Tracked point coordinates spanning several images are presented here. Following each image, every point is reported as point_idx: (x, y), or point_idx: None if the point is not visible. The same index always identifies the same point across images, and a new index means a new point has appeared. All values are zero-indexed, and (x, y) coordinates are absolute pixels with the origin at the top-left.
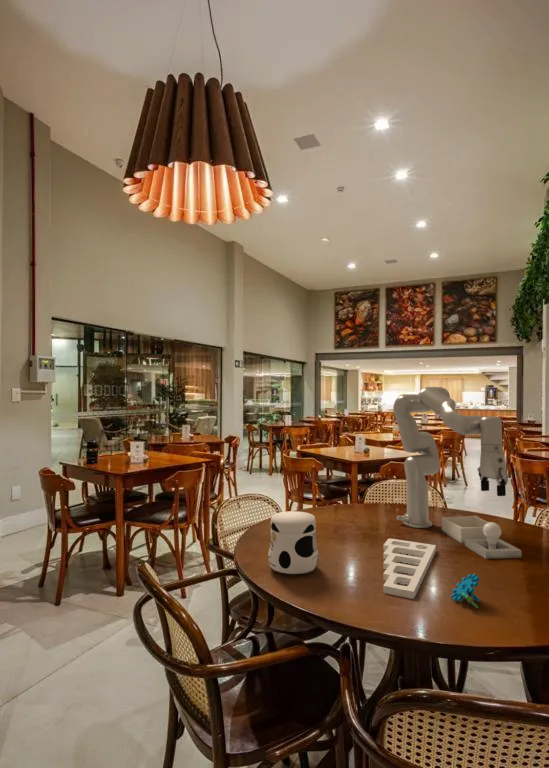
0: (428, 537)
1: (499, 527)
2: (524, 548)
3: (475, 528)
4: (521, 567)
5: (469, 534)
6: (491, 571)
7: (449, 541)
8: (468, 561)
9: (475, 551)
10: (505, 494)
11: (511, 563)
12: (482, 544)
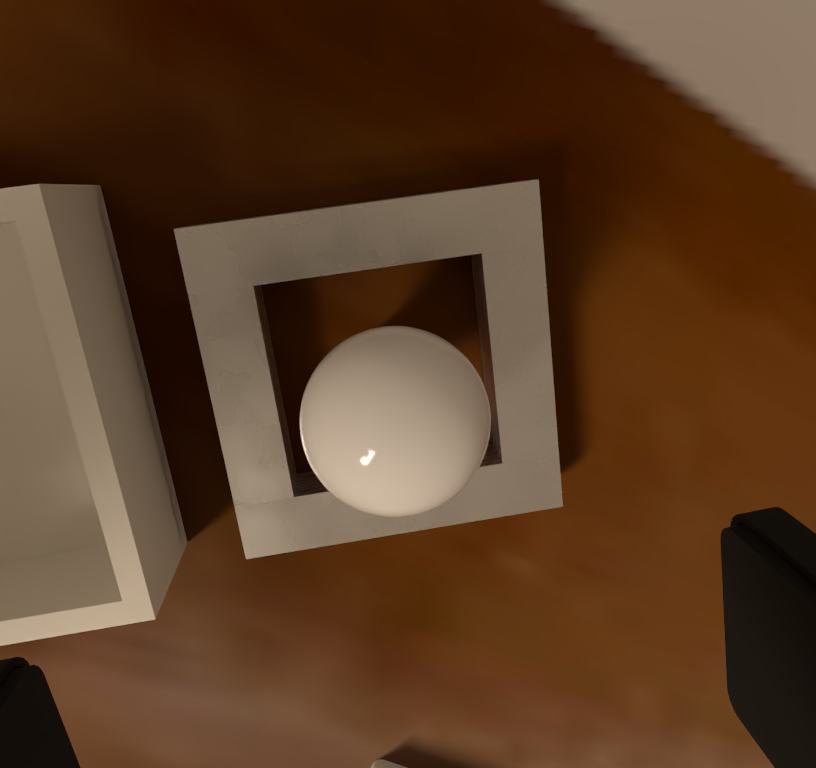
0: None
1: (456, 374)
2: (289, 13)
3: (118, 465)
4: (722, 298)
5: (150, 503)
6: None
7: None
8: (583, 612)
9: None
10: (792, 522)
11: (643, 333)
12: (282, 414)
